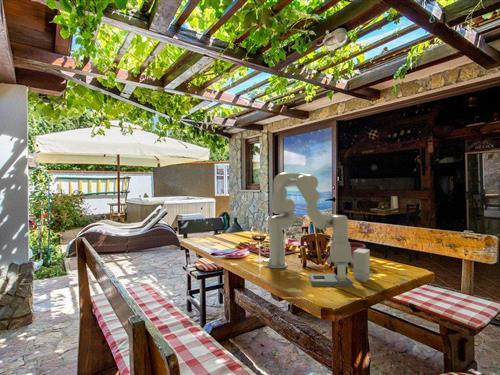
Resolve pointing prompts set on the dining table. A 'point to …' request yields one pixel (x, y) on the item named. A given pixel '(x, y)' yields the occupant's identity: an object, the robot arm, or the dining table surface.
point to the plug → (341, 270)
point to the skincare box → (361, 264)
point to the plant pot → (355, 248)
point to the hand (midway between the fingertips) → (340, 274)
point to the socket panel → (329, 280)
